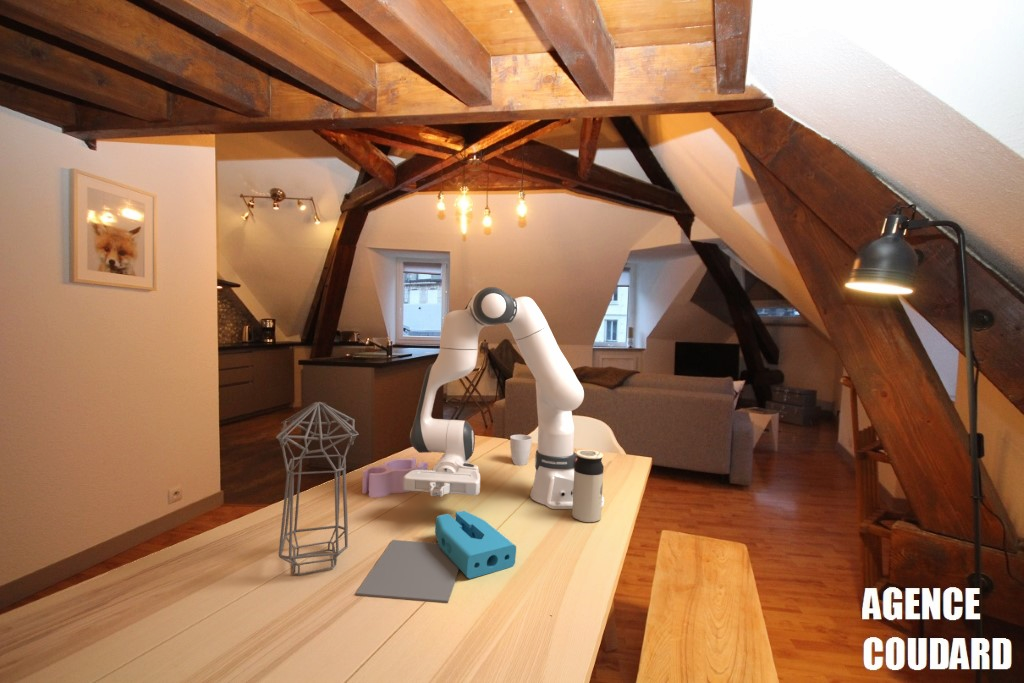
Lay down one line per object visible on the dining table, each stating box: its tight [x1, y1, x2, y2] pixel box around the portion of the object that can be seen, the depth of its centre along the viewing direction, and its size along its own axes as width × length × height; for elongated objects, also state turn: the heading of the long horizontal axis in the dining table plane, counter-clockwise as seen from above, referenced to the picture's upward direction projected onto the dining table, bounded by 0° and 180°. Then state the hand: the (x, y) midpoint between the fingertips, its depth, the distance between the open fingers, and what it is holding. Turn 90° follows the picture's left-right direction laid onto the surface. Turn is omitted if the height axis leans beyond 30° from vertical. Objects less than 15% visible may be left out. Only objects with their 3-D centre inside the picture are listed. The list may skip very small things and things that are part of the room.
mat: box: [355, 539, 460, 604], centre depth 101 cm, size 18×22×1 cm
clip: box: [361, 457, 429, 498], centre depth 148 cm, size 20×12×7 cm, turn 137°
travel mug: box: [571, 449, 604, 523], centre depth 131 cm, size 8×8×18 cm
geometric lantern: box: [275, 401, 360, 577], centre depth 101 cm, size 16×16×35 cm
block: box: [434, 510, 517, 579], centre depth 108 cm, size 12×5×20 cm
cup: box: [509, 434, 533, 466], centre depth 177 cm, size 8×8×10 cm
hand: (436, 493), depth 116 cm, fingers closed
